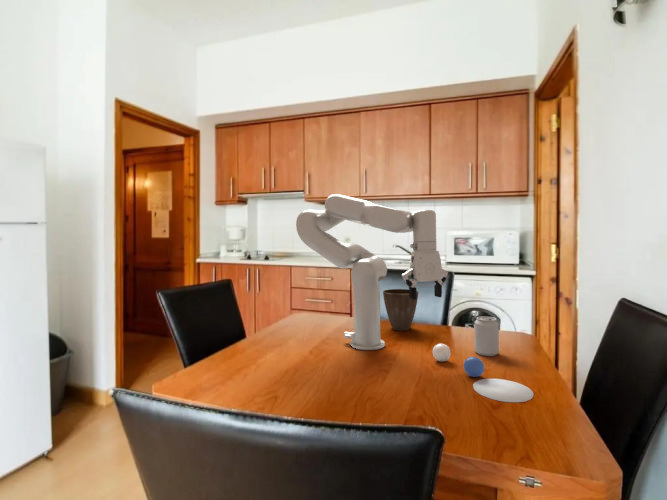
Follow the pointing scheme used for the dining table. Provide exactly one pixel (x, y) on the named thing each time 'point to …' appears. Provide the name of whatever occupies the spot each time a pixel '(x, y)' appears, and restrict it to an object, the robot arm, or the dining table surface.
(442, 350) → the cue ball
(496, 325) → the can
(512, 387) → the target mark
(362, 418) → the dining table surface
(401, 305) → the plant pot
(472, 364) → the object ball
